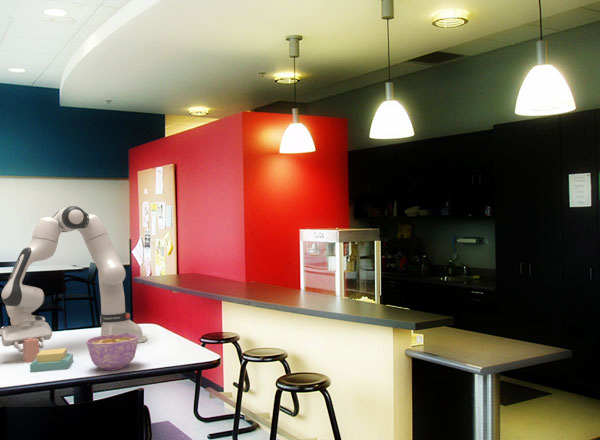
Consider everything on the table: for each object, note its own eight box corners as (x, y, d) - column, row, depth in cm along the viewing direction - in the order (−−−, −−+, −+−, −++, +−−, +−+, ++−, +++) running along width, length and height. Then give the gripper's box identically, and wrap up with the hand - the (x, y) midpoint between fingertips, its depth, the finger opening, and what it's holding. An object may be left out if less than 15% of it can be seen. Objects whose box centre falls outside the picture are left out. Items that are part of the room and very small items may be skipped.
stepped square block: (73, 361, 253) (72, 346, 253) (67, 368, 239) (67, 353, 239) (37, 364, 250) (37, 349, 250) (30, 372, 236) (29, 356, 236)
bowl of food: (100, 361, 249) (99, 334, 249) (147, 361, 247) (145, 333, 247) (77, 374, 229) (76, 344, 229) (128, 373, 227) (127, 343, 227)
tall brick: (35, 358, 260) (34, 336, 260) (39, 360, 256) (38, 338, 256) (23, 360, 257) (22, 338, 257) (27, 362, 253) (26, 340, 253)
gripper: (-2, 323, 254) (7, 349, 247) (47, 316, 268) (57, 340, 261) (-4, 332, 258) (4, 358, 251) (44, 325, 272) (53, 349, 264)
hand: (31, 349), depth 256 cm, fingers open, 7 cm apart
